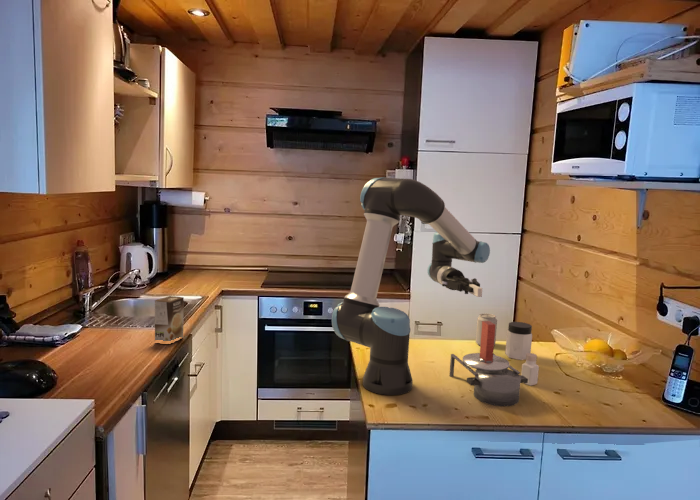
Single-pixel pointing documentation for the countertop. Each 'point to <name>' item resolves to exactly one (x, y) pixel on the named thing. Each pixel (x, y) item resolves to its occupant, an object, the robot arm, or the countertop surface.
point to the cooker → (494, 384)
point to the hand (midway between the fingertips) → (479, 292)
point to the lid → (486, 352)
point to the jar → (518, 340)
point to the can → (479, 326)
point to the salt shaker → (530, 369)
